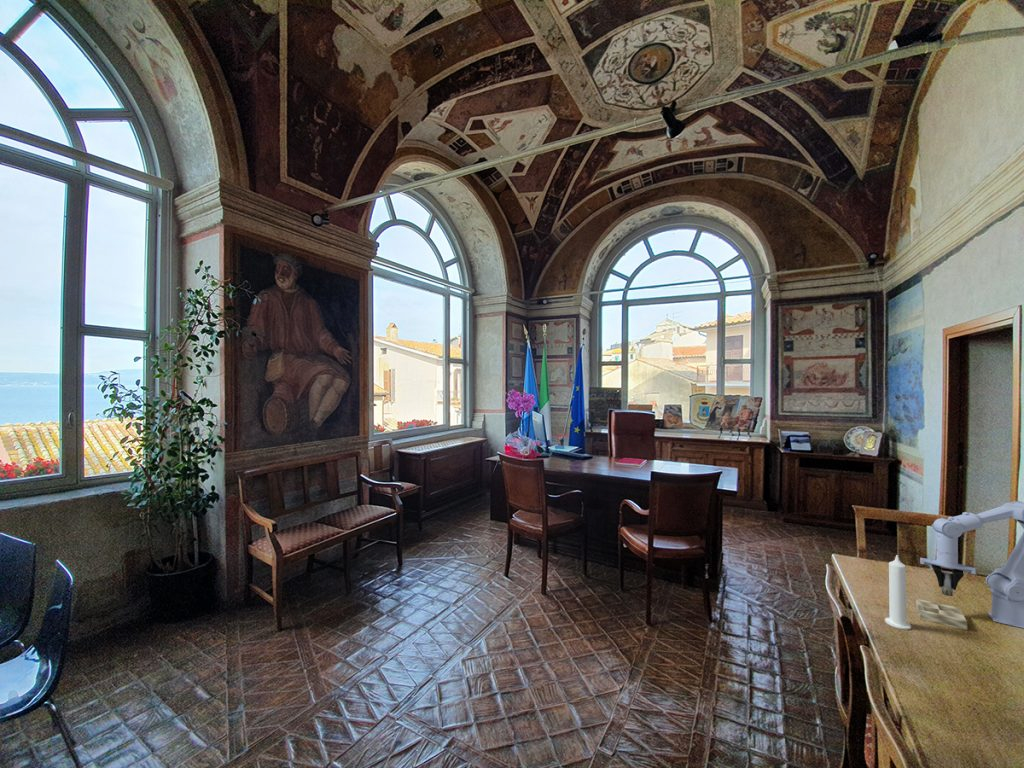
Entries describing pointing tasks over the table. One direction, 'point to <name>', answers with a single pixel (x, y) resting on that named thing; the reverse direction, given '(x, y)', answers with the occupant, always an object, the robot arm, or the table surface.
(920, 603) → the socket block
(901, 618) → the candle
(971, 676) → the table surface
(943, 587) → the pin
